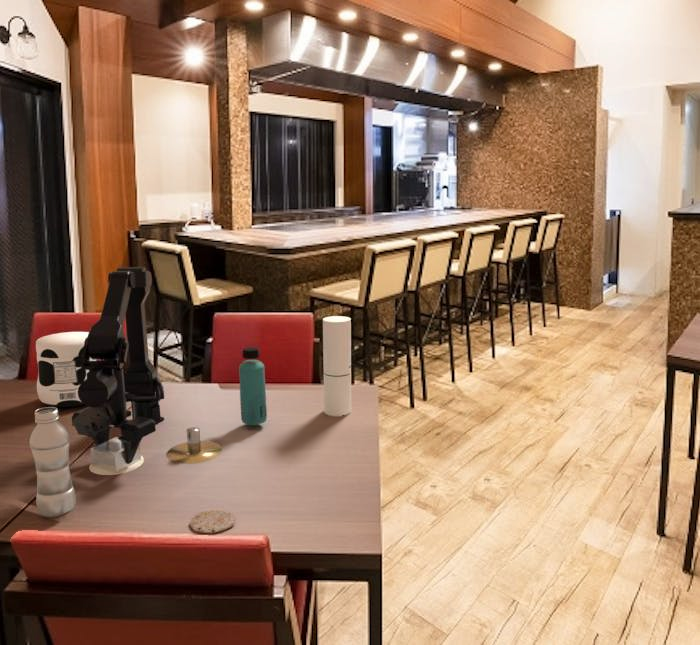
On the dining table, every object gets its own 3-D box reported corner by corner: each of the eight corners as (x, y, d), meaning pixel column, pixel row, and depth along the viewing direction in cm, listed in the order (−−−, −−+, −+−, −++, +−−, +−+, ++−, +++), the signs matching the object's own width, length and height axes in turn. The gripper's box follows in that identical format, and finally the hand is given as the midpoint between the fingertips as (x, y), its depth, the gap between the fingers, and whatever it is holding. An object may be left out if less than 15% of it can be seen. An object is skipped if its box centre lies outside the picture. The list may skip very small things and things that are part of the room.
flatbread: (183, 533, 111) (182, 528, 110) (200, 511, 118) (199, 506, 118) (227, 537, 109) (227, 532, 109) (242, 515, 117) (242, 510, 116)
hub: (155, 460, 139) (152, 434, 138) (191, 440, 149) (190, 416, 148) (198, 471, 134) (196, 444, 132) (232, 449, 144) (231, 424, 143)
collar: (92, 466, 134) (90, 448, 133) (117, 453, 140) (115, 436, 139) (116, 473, 131) (114, 455, 130) (141, 459, 137) (139, 442, 136)
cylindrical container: (354, 408, 170) (354, 317, 164) (345, 417, 163) (345, 322, 158) (329, 405, 172) (328, 315, 166) (320, 414, 165) (318, 321, 160)
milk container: (83, 387, 188) (77, 328, 184) (119, 398, 178) (113, 336, 175) (26, 403, 175) (18, 340, 171) (61, 416, 165) (53, 349, 161)
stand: (78, 471, 134) (75, 446, 132) (118, 452, 143) (115, 428, 142) (116, 482, 129) (113, 456, 127) (155, 461, 138) (153, 436, 137)
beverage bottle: (262, 431, 154) (259, 352, 150) (236, 429, 156) (233, 351, 151) (271, 421, 161) (268, 345, 156) (246, 420, 162) (242, 344, 157)
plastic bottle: (45, 504, 120) (33, 404, 116) (82, 503, 121) (71, 403, 116) (31, 522, 114) (18, 417, 109) (70, 521, 114) (59, 416, 110)
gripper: (46, 395, 129) (54, 466, 133) (112, 409, 121) (119, 484, 124) (90, 380, 139) (96, 446, 142) (154, 392, 131) (160, 462, 134)
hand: (116, 459), depth 136 cm, fingers closed on collar, 7 cm apart
